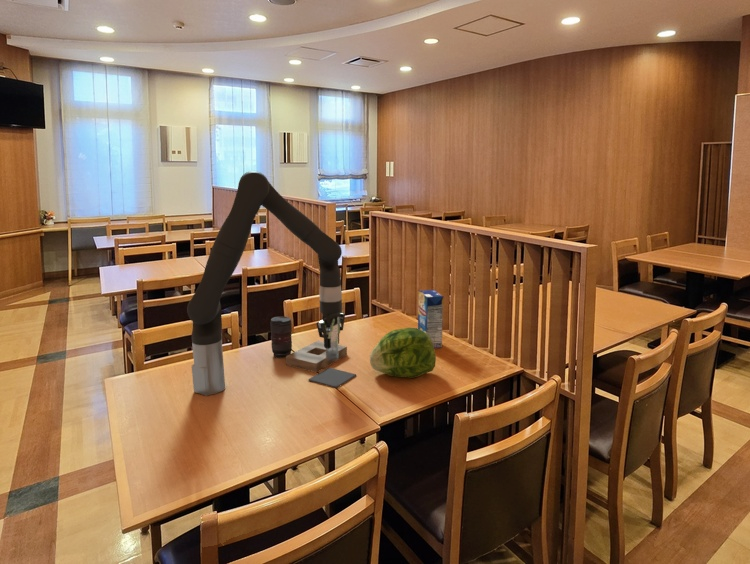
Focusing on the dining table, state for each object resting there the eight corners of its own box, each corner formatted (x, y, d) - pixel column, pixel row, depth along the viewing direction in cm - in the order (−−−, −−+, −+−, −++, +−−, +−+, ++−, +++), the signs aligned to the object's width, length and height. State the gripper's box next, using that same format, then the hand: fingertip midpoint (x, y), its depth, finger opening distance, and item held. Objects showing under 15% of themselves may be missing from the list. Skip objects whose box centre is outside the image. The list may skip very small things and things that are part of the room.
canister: (333, 360, 170) (332, 327, 167) (323, 358, 172) (322, 325, 170) (341, 356, 174) (340, 323, 171) (330, 354, 176) (329, 321, 173)
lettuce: (366, 342, 187) (363, 328, 170) (427, 330, 188) (429, 315, 171) (375, 389, 181) (372, 380, 164) (438, 377, 181) (442, 367, 164)
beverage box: (426, 349, 203) (427, 297, 198) (417, 340, 213) (418, 290, 208) (441, 347, 204) (443, 296, 199) (432, 339, 215) (434, 289, 210)
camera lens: (290, 358, 193) (289, 322, 189) (269, 358, 193) (268, 321, 189) (294, 351, 200) (293, 315, 197) (274, 351, 201) (272, 315, 197)
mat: (336, 388, 167) (336, 386, 167) (308, 380, 173) (308, 379, 173) (356, 375, 177) (356, 374, 177) (328, 368, 183) (328, 367, 183)
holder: (316, 372, 180) (315, 363, 179) (286, 364, 187) (285, 356, 186) (346, 354, 197) (346, 346, 196) (318, 348, 204) (318, 340, 203)
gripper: (327, 304, 160) (328, 354, 164) (351, 295, 172) (352, 341, 176) (308, 301, 164) (310, 350, 168) (333, 292, 176) (334, 338, 180)
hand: (331, 345), depth 172 cm, fingers closed on canister, 4 cm apart
